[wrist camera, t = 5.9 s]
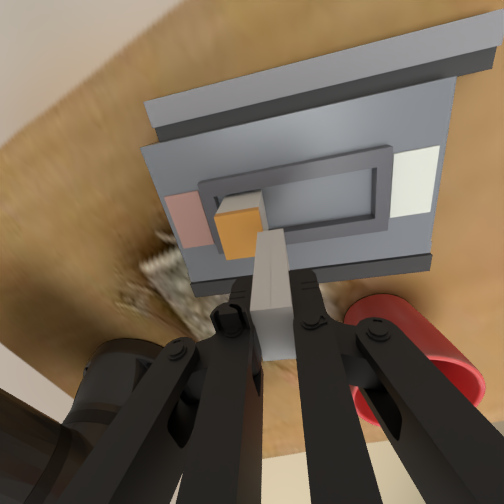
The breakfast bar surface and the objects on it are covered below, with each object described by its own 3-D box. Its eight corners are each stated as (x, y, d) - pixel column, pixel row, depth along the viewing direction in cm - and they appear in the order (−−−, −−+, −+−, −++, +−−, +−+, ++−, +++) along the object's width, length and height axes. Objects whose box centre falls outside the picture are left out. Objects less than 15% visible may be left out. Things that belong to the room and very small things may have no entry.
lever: (235, 232, 22) (226, 260, 18) (225, 195, 21) (213, 217, 17) (268, 227, 22) (267, 254, 18) (261, 189, 20) (258, 209, 16)
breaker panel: (200, 265, 28) (189, 288, 25) (155, 142, 22) (133, 149, 19) (412, 237, 25) (435, 258, 21) (431, 79, 18) (467, 74, 15)
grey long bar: (166, 141, 22) (158, 144, 20) (153, 102, 21) (143, 102, 19) (477, 71, 18) (496, 67, 16) (487, 16, 17) (509, 6, 15)
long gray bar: (199, 287, 30) (195, 297, 28) (191, 266, 28) (186, 275, 27) (420, 260, 26) (429, 270, 24) (424, 234, 24) (434, 243, 23)
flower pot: (312, 328, 32) (326, 408, 24) (372, 266, 27) (416, 340, 18) (379, 359, 34) (414, 443, 25) (447, 306, 29) (519, 389, 20)
